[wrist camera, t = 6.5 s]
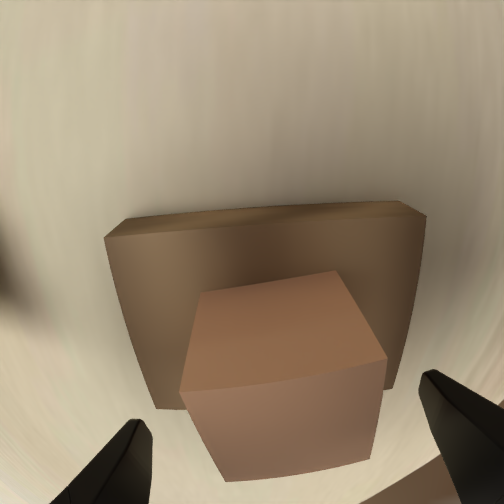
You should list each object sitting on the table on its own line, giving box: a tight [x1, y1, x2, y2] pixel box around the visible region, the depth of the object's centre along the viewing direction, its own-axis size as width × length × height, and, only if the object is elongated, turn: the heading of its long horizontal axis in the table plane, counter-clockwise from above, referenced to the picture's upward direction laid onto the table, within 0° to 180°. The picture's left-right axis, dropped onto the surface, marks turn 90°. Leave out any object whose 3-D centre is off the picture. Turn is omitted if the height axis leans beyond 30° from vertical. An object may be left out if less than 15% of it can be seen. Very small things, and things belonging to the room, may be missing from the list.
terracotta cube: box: [179, 270, 388, 482], centre depth 10 cm, size 5×5×5 cm
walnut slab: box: [104, 201, 427, 410], centre depth 14 cm, size 12×9×3 cm
